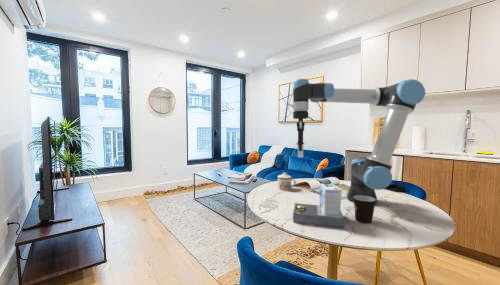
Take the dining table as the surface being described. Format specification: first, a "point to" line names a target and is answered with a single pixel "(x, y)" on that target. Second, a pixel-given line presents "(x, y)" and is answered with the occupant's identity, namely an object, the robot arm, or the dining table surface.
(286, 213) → the dining table surface
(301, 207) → the press pin
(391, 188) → the battery charger
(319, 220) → the plate
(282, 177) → the teacup with lid
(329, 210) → the light bulb box
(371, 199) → the coffee mug
